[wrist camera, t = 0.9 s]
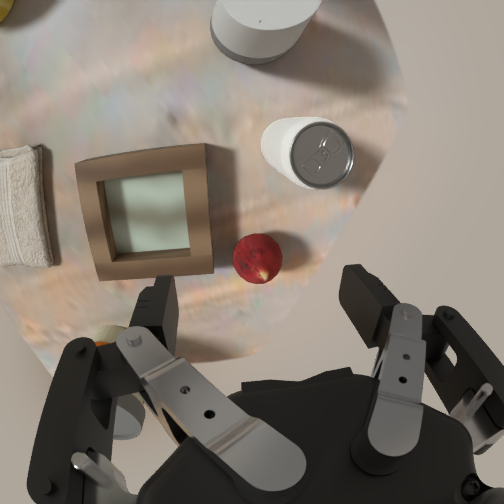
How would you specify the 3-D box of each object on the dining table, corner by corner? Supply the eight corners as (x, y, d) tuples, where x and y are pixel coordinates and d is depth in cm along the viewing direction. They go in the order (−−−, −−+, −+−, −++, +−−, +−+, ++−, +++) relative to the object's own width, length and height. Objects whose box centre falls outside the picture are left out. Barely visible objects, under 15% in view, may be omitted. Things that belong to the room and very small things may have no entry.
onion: (224, 257, 37) (227, 291, 30) (241, 218, 35) (248, 244, 28) (264, 270, 39) (276, 305, 32) (282, 233, 37) (299, 261, 30)
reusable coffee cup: (161, 371, 45) (153, 444, 32) (98, 368, 44) (78, 434, 30) (146, 316, 40) (127, 396, 26) (75, 315, 38) (40, 384, 25)
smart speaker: (224, -5, 23) (232, -67, 10) (298, 16, 25) (345, -32, 12) (200, 59, 26) (192, 16, 14) (277, 78, 28) (320, 52, 16)
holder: (86, 159, 29) (74, 163, 26) (205, 143, 31) (204, 145, 28) (107, 268, 36) (99, 281, 32) (213, 260, 37) (214, 273, 34)
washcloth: (45, 140, 27) (32, 143, 24) (58, 264, 35) (50, 274, 32) (-11, 151, 25) (-23, 155, 23) (6, 261, 33) (-4, 270, 30)
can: (322, 142, 32) (372, 154, 22) (289, 181, 34) (324, 209, 23) (283, 107, 30) (320, 99, 19) (248, 147, 32) (267, 159, 21)
